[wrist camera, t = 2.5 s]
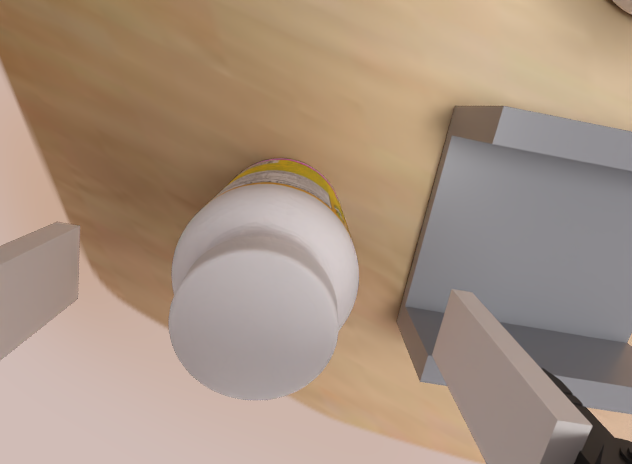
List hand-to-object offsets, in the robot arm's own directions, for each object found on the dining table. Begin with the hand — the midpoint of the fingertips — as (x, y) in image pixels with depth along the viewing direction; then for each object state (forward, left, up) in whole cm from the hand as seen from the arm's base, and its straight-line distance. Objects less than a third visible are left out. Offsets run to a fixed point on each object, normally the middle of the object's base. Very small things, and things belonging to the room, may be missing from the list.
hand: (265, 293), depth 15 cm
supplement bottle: (0, 0, -10) cm, 10 cm away
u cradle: (-1, +15, -10) cm, 18 cm away
